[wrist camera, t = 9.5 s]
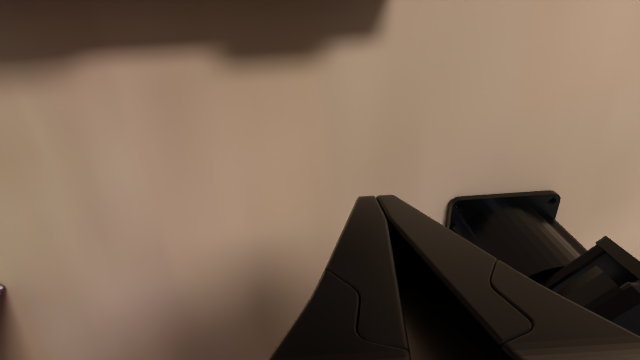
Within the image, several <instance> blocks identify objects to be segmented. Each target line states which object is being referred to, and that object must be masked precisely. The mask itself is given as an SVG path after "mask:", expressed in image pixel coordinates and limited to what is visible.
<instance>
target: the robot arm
mask: <svg viewBox="0 0 640 360" xmlns="http://www.w3.org/2000/svg"><path fill="white" fill-rule="evenodd" d="M550 198H552V199H551V200H550V201H548V200H549V199H550ZM559 203H560V196H559V195H558V194H557V193H556V192H554V191H551V190H549V191H534V192H519V193H504V194H490V195H475V196H460V197H455V198H454V199H452V200H451V202H450V204H449V212H448V220H447V227H444V226H443V225H441V224H440V223H438V222H436V221H435V220H433V219H432V218H430V217H428V216H427V215H425V214H423V213H422V212H420V211H419V210H417V209H415V208H414V207H412V206H410V205H409V204H407V203H406V202H404V201H402V200H401V199H399V198H397V197H396V196H394V195H379V196H377V197H375V196H361V197H358V198H357V200H356V203H355V205H354V207H353V209H352V211H351V213H350V216H349V218H348V220H347V222H346V224H345V227H344V229H343V231H342V233H341V235H340V237H339V240H338V242H337V244H336V246H335V248H334V250H333V253H332V255H331V257H330V259H329V261H328V263H327V266H326V268H325V271H324V272H323V274H322V276H321V278H320V280H319V283H318V284H317V286H316V288H315V290H314V292H313V294H312V296H311V298H310V299H309V301H308V303H307V304H306V306H305V307H304V309H303V310H302V312H301V313H300V315H299V316H298V318H297V319H296V321H295V322H294V324H293V325H292V326H291V328H290V329H289V331H288V332H287V334H286V335H285V337H284V338H283V339H282V341H281V342H280V344H279V345H278V347H277V348H276V349H275V351H274V352H273V354H272V355H271V357H270V358H269V360H640V261H638V260H637V259H636V258H634V257H633V256H632V255H630V254H629V253H628V252H626V251H625V250H624V249H622V248H621V247H620V246H618V245H617V244H616V243H615V242H613V241H612V240H611V239H609V238H608V237H607V236H604V237H603V238H602V239H600V240H599V241H597V242H596V244H597V245H595V246H594V247H592V248H591V249H589V250H588V251H587V250H586V249H585V248H584V247H583V246H582V245H581V244H580V243H579V242H578V241H577V240H576V239H575V238H574V237H573V236H572V235H571V234H570V233H568V232H567V231H566V230H565V229H564V228H563V227H562V226H561V225H560V224H559V223H558V222H557V221H556V220H555V217H556V214H557V210H558V207H559ZM458 204H462V205H461V206H460V207H456V206H457V205H458Z"/></svg>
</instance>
